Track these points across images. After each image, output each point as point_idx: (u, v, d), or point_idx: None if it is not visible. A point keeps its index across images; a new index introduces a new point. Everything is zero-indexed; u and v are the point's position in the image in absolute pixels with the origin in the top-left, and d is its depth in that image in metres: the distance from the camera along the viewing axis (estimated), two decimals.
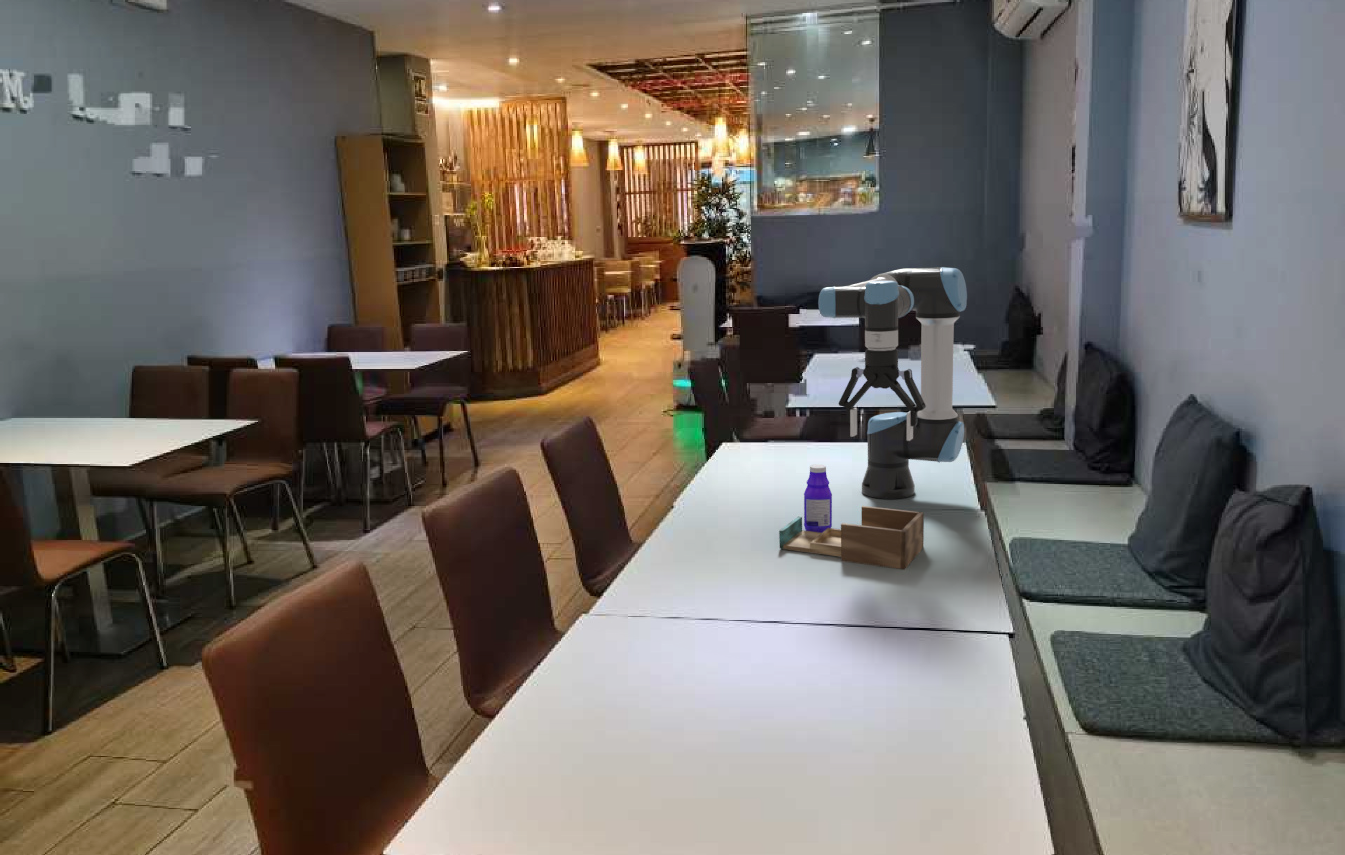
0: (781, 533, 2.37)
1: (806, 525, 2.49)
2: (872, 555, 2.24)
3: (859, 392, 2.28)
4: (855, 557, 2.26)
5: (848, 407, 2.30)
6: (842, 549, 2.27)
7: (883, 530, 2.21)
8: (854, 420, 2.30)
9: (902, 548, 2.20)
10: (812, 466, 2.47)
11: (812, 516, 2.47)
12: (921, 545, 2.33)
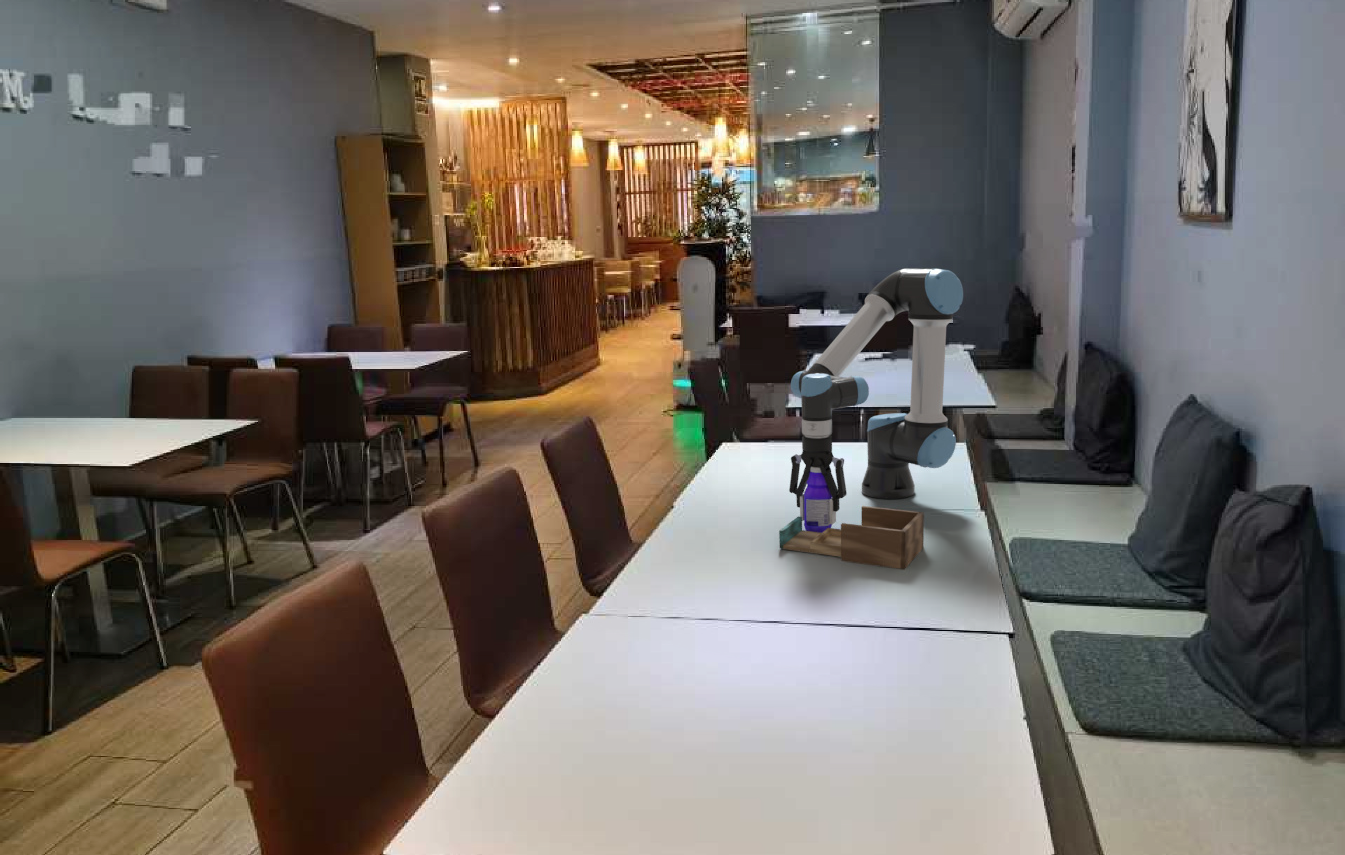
0: (781, 533, 2.37)
1: (806, 525, 2.49)
2: (872, 555, 2.24)
3: (803, 478, 2.48)
4: (855, 557, 2.26)
5: (798, 494, 2.50)
6: (842, 549, 2.27)
7: (883, 530, 2.21)
8: (803, 506, 2.51)
9: (902, 548, 2.20)
10: None
11: (812, 516, 2.47)
12: (921, 545, 2.33)
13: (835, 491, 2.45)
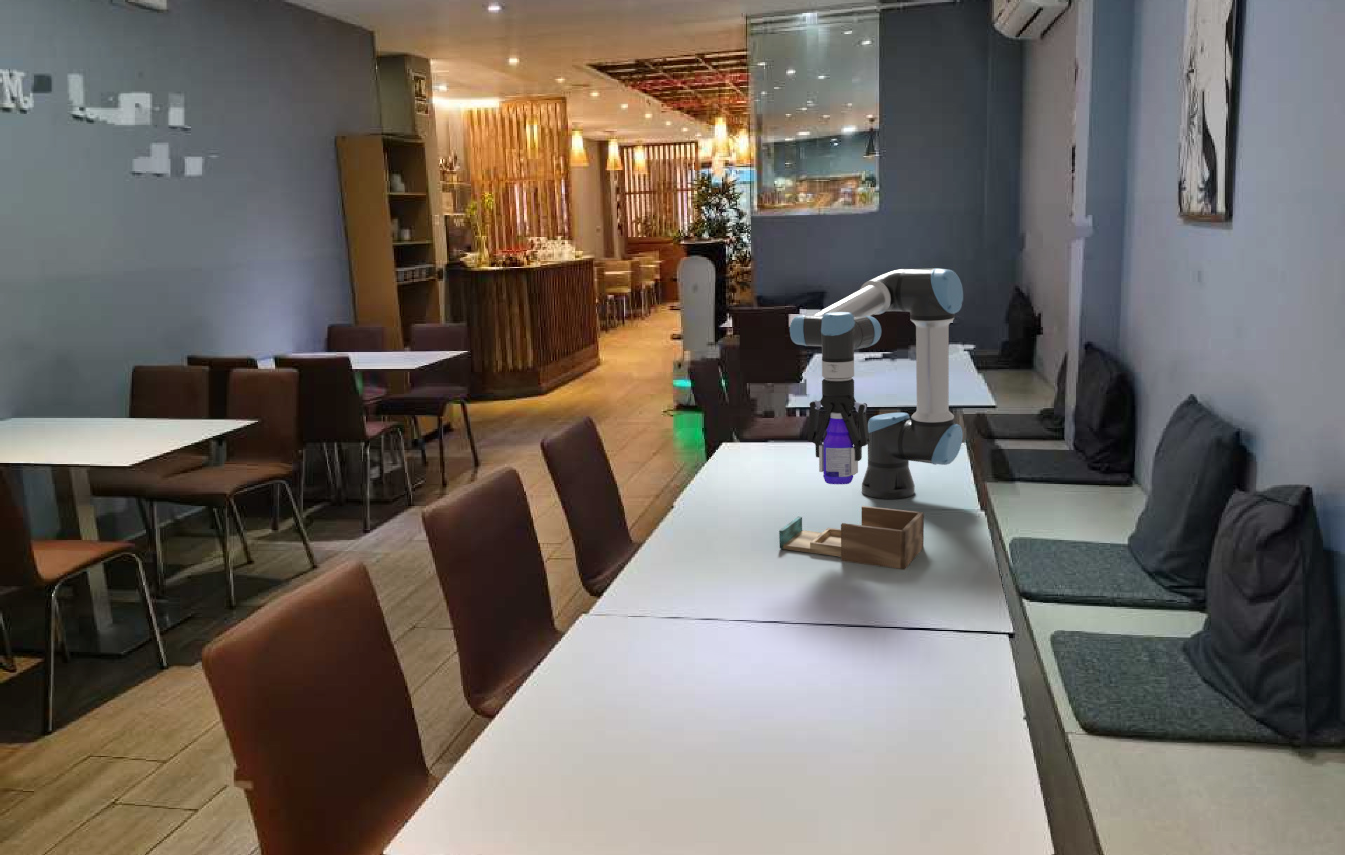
0: (781, 533, 2.37)
1: (826, 476, 2.31)
2: (872, 555, 2.24)
3: (822, 425, 2.31)
4: (855, 557, 2.26)
5: (817, 443, 2.33)
6: (842, 549, 2.27)
7: (883, 530, 2.21)
8: None
9: (902, 548, 2.20)
10: None
11: (832, 465, 2.30)
12: (921, 545, 2.33)
13: (857, 439, 2.28)
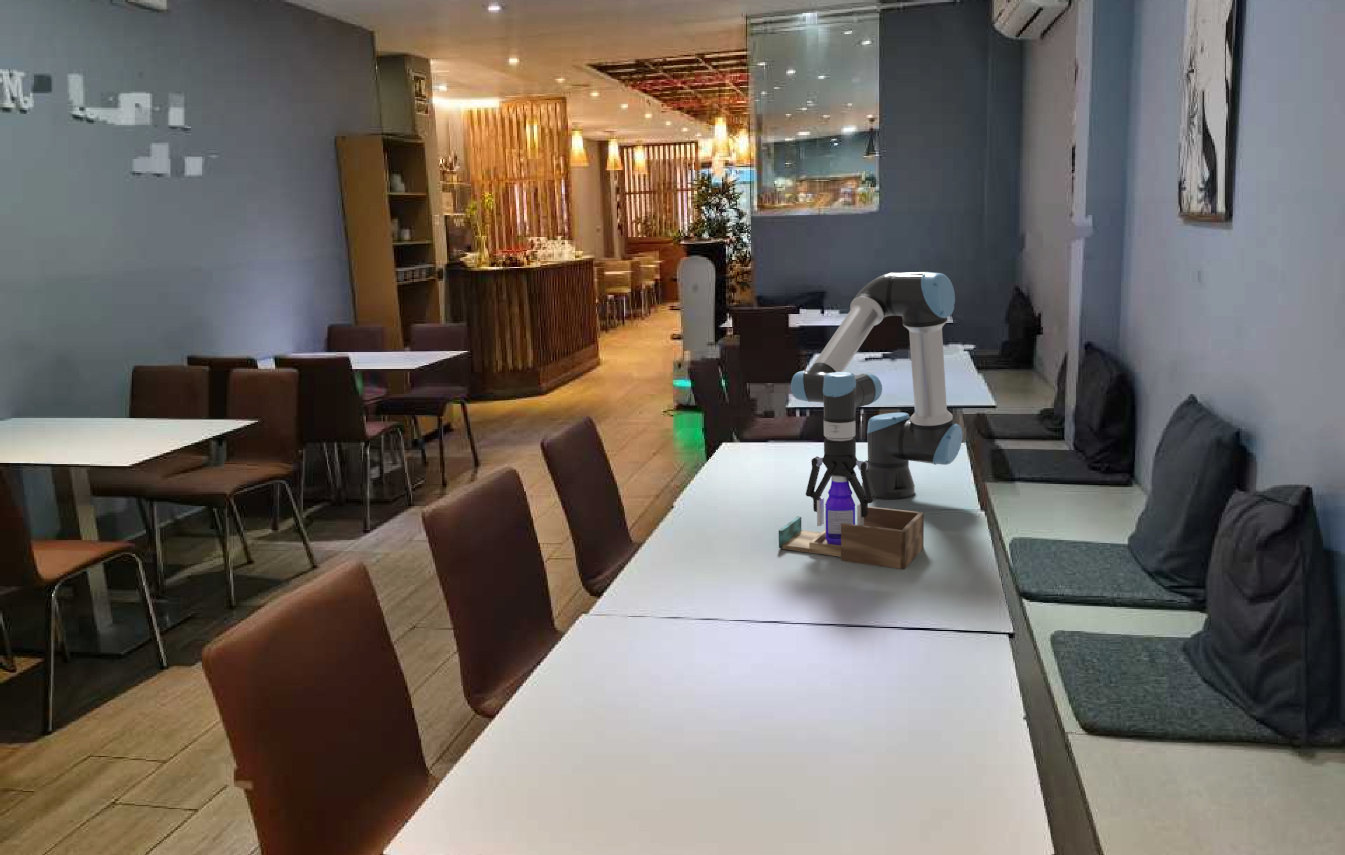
0: (780, 533, 2.37)
1: (828, 538, 2.34)
2: (872, 555, 2.24)
3: (822, 482, 2.34)
4: (855, 557, 2.26)
5: (815, 498, 2.36)
6: (842, 549, 2.27)
7: (883, 530, 2.21)
8: (820, 510, 2.36)
9: (902, 548, 2.20)
10: (834, 475, 2.32)
11: (834, 528, 2.33)
12: (921, 545, 2.33)
13: (863, 495, 2.30)
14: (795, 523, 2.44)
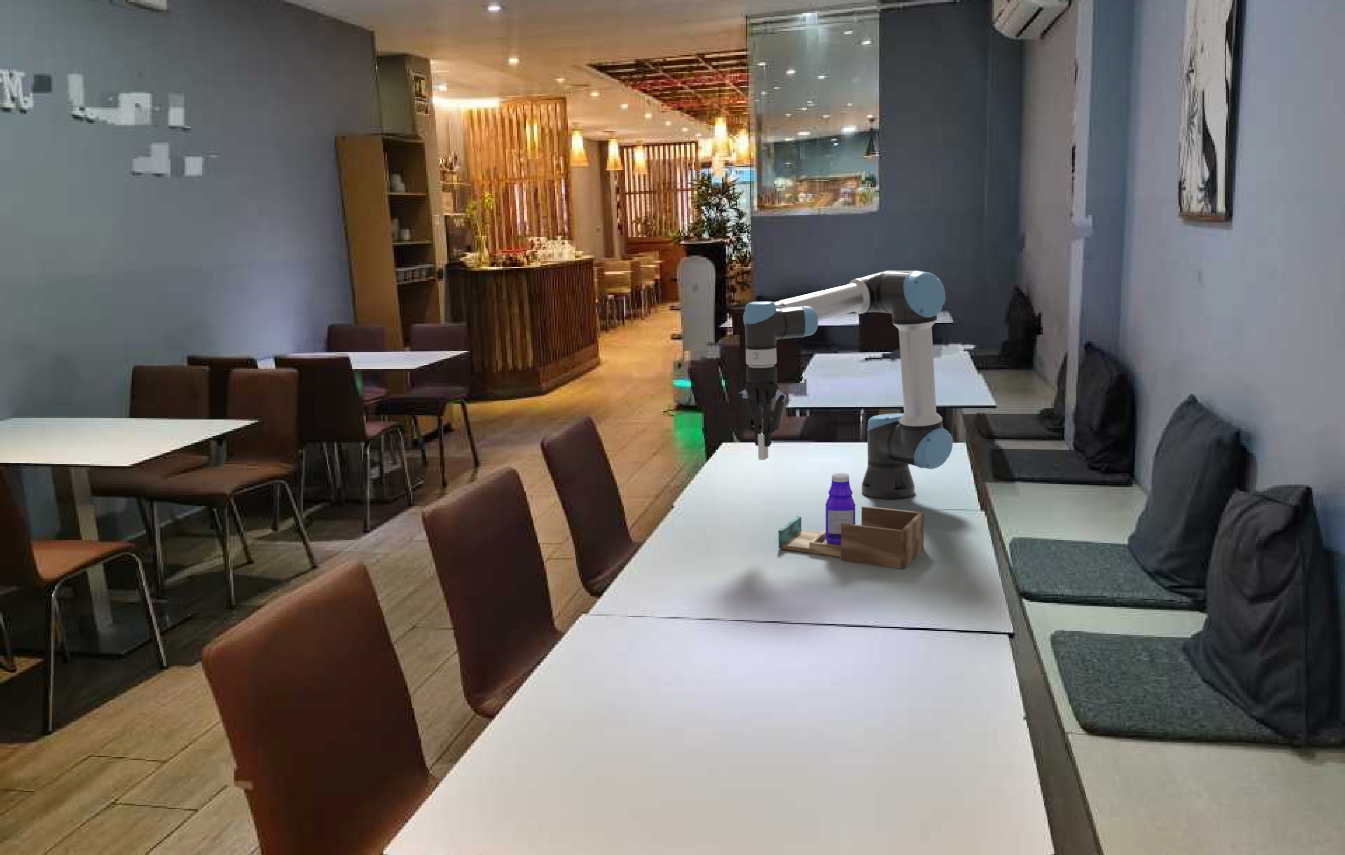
0: (780, 533, 2.37)
1: (828, 538, 2.34)
2: (872, 555, 2.24)
3: (754, 413, 2.39)
4: (855, 557, 2.26)
5: (756, 431, 2.40)
6: (842, 549, 2.27)
7: (883, 530, 2.21)
8: None
9: (902, 548, 2.20)
10: (834, 475, 2.32)
11: (834, 528, 2.33)
12: (921, 545, 2.33)
13: (768, 426, 2.39)
14: (795, 523, 2.44)
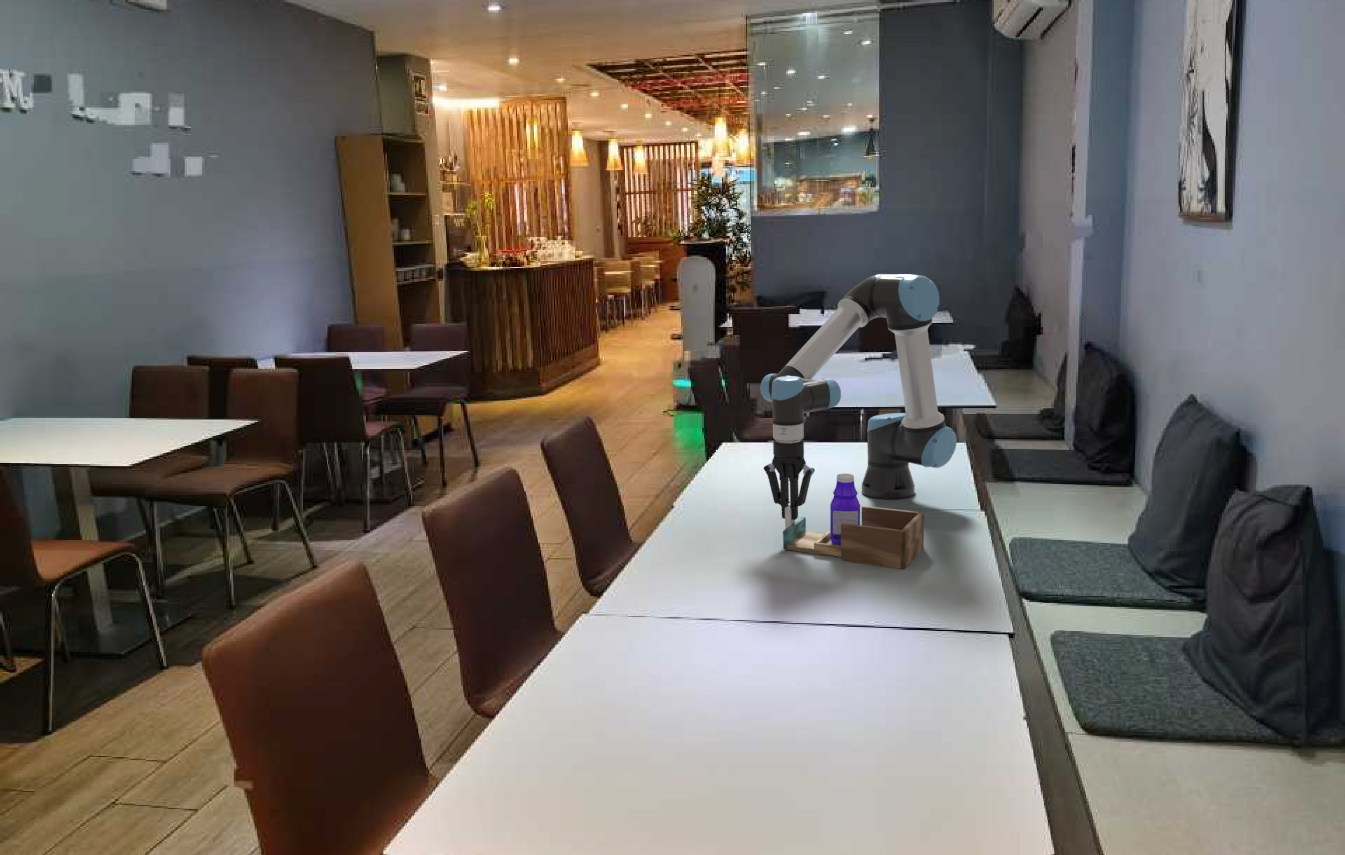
0: (785, 533, 2.36)
1: (833, 538, 2.34)
2: (872, 555, 2.24)
3: (781, 486, 2.40)
4: (855, 557, 2.26)
5: (783, 504, 2.40)
6: (842, 549, 2.27)
7: (883, 530, 2.21)
8: None
9: (902, 548, 2.20)
10: (839, 475, 2.32)
11: (839, 528, 2.32)
12: (921, 545, 2.33)
13: (795, 500, 2.39)
14: (799, 524, 2.43)
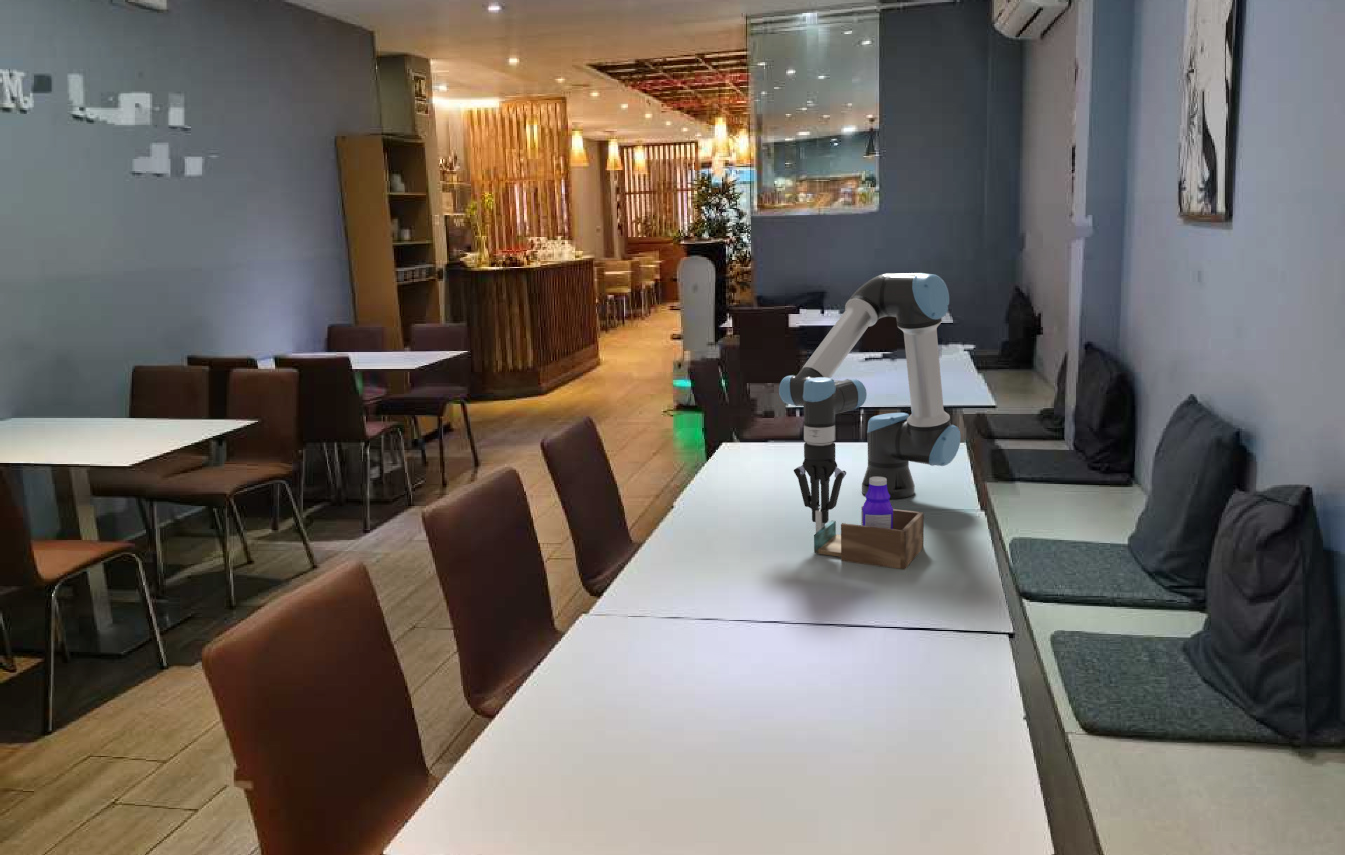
0: (816, 537, 2.32)
1: None
2: (872, 555, 2.24)
3: (812, 489, 2.36)
4: (855, 557, 2.26)
5: (814, 508, 2.36)
6: (842, 549, 2.27)
7: (883, 530, 2.21)
8: None
9: (902, 548, 2.20)
10: (872, 478, 2.28)
11: None
12: (921, 545, 2.33)
13: (826, 503, 2.35)
14: (830, 527, 2.39)
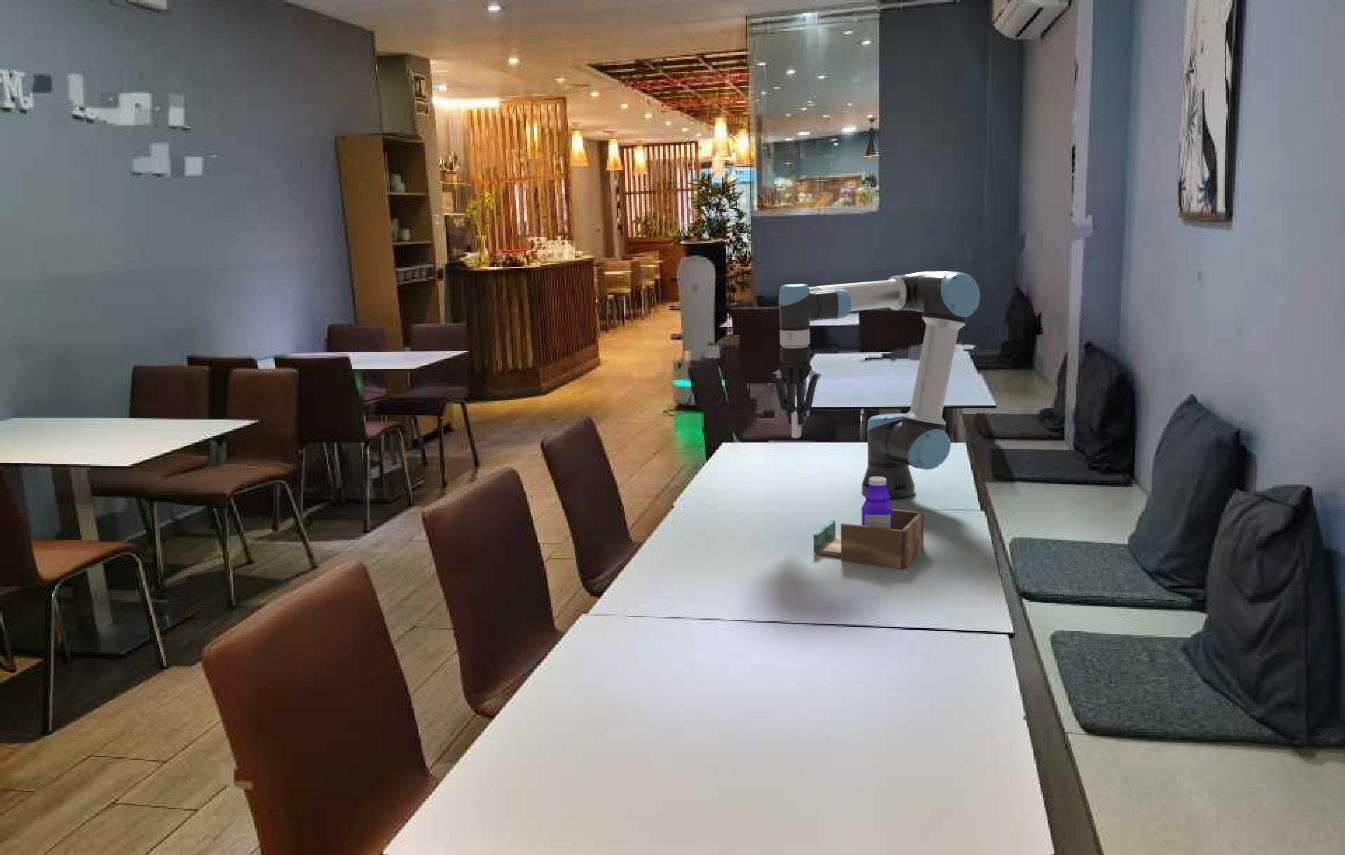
0: (815, 537, 2.32)
1: None
2: (872, 555, 2.24)
3: (788, 392, 2.47)
4: (855, 557, 2.26)
5: (790, 410, 2.47)
6: (842, 549, 2.27)
7: (883, 530, 2.21)
8: None
9: (902, 548, 2.20)
10: (871, 478, 2.28)
11: None
12: (921, 545, 2.33)
13: (802, 405, 2.46)
14: (829, 527, 2.39)
